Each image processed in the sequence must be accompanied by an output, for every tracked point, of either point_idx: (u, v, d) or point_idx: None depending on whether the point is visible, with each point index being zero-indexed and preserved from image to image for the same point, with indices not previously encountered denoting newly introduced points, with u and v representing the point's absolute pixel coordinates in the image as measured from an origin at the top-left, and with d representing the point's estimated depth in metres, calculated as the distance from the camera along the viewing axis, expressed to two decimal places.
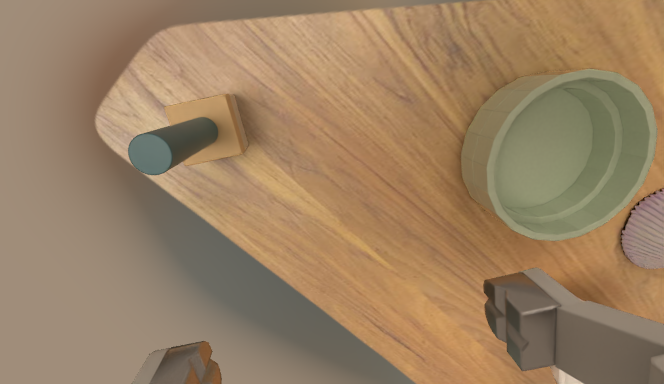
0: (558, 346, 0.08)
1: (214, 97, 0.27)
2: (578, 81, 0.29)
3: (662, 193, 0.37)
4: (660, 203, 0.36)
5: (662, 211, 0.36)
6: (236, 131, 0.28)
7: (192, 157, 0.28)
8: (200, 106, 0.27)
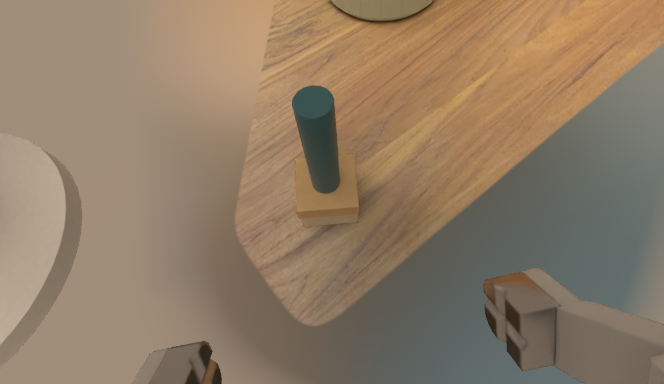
0: (558, 346, 0.08)
1: (296, 166, 0.28)
2: None
3: None
4: None
5: None
6: None
7: (350, 197, 0.27)
8: (301, 179, 0.28)
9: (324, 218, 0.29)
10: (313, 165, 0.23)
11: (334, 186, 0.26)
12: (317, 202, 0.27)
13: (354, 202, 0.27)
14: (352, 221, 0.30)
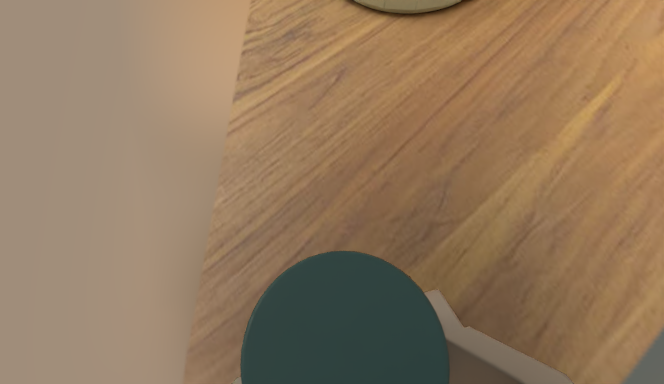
0: None
1: None
2: None
3: None
4: None
5: None
6: None
7: None
8: None
9: None
10: None
11: None
12: None
13: None
14: None
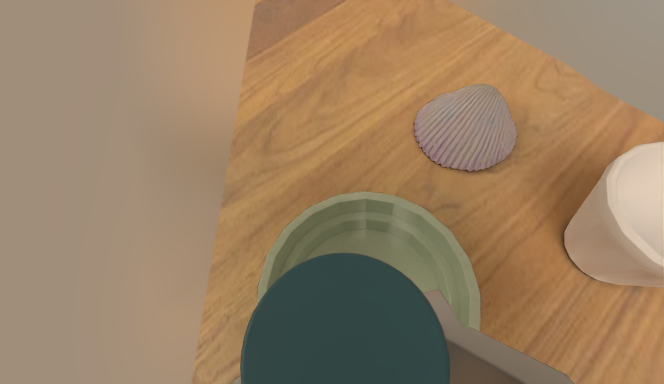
0: None
1: None
2: (281, 275, 0.26)
3: (421, 142, 0.34)
4: (431, 144, 0.33)
5: (440, 142, 0.32)
6: None
7: None
8: None
9: None
10: None
11: None
12: None
13: None
14: None
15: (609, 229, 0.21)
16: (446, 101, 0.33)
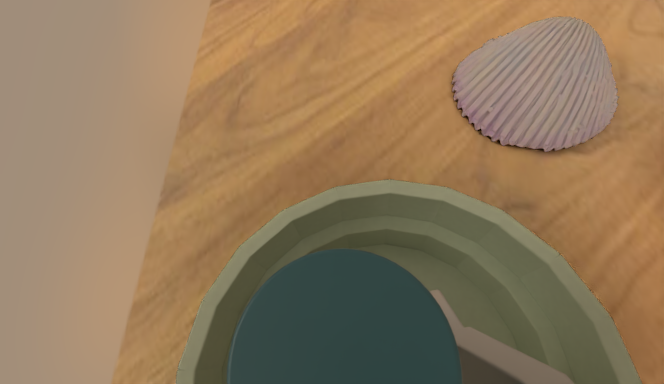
0: None
1: None
2: None
3: (466, 108, 0.22)
4: (484, 109, 0.21)
5: (500, 105, 0.20)
6: None
7: None
8: None
9: None
10: None
11: None
12: None
13: None
14: None
15: None
16: (507, 43, 0.21)
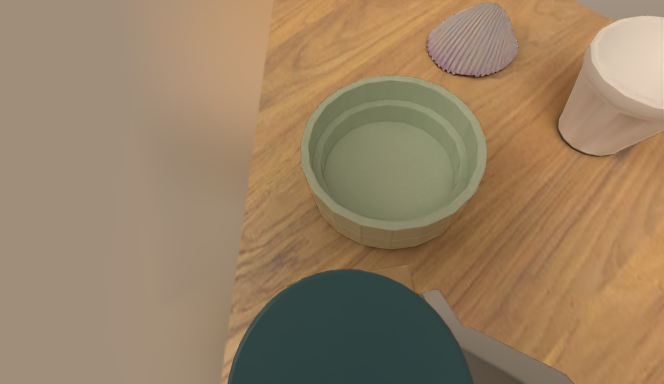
0: None
1: None
2: (317, 147, 0.31)
3: (433, 55, 0.39)
4: (442, 54, 0.38)
5: (450, 51, 0.37)
6: None
7: None
8: None
9: None
10: None
11: None
12: None
13: None
14: None
15: (593, 83, 0.26)
16: (456, 17, 0.38)
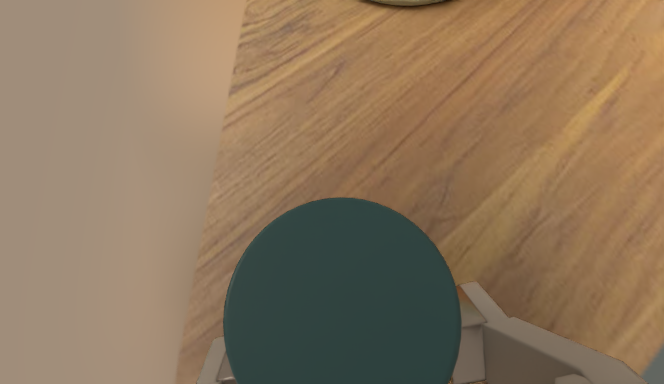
0: (488, 361, 0.08)
1: None
2: None
3: None
4: None
5: None
6: None
7: None
8: None
9: None
10: None
11: None
12: None
13: None
14: None
15: None
16: None
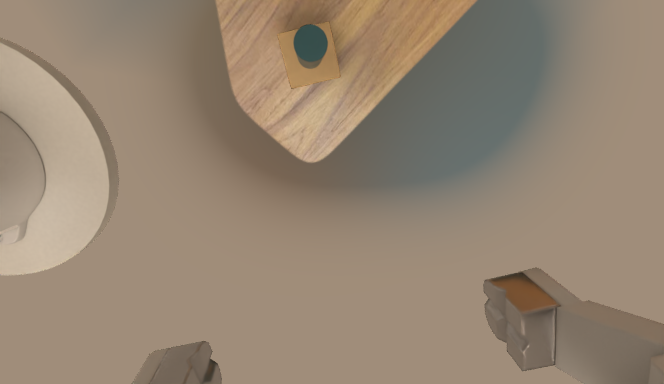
0: (558, 346, 0.08)
1: (280, 43, 0.32)
2: None
3: None
4: None
5: None
6: None
7: (332, 68, 0.33)
8: (288, 56, 0.32)
9: None
10: (305, 65, 0.28)
11: None
12: (306, 77, 0.33)
13: (336, 73, 0.33)
14: None
15: None
16: None
